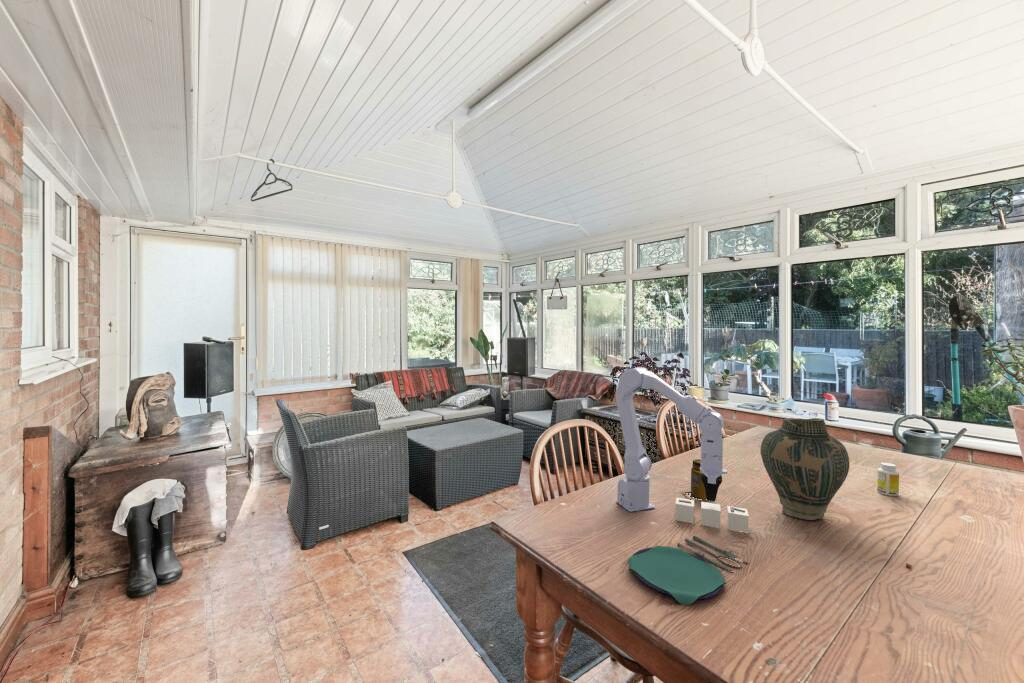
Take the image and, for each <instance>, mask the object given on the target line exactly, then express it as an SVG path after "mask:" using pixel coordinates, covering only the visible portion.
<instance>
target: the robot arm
mask: <svg viewBox="0 0 1024 683" xmlns="http://www.w3.org/2000/svg"><path fill="white" fill-rule="evenodd" d="M618 378H619V380H618V383H617V387H616V390H615V393H614V395H615V396H614V397H615V402H616V405H617V411H618V416H619V421H620V426H621V430H622V435H623V440H624V446H625V451H624V456H623V457H624V465H623V471H624V475H625V477H623V478H621V479H619V480H618V483H617V500H616V501H615V502H616V503H617V502H618V503H619V504H618V503H617V504H618V505H620V506H621V505H622V506H623V508H624V509H625V510H626V511H628V512H629V513H631V512H638V511H644V510H645V511H646V510H650V509H655V508H656V506H655V505H653V504H652V503H650V475H649V471H650V470H651V469H652V460H651V458H650V457H649V455H648V454H647V450H646V448H645V447H644V446H643V442H642V438H641V432H640V429H639V428H640V426H639V422H638V419H637V413H636V409H635V403H634V396H635V395H636V394H637V392H638V391H639V390H640V389H644V390H654V391H655V392H656V393H659V395H661V396H663V397H665V398H666V399H667V400H669V401H671V402H672V403H674V404H675V405H676V408H677V411H678V412H679V413H681V414H682V415H684V416H685V417H687V418H688V419H689V420H691V421H692V422H693V423H695V424H697V425H699V429H700V430H701V437H700V460H701V467H700V471H701V472H702V473H701V480H702V482H703V484H704V487H705V493H706V498H707V500H706V501H709V502H713V503H714V502H716V500H717V499H716V498H717V495H718V490H719V488H720V486H721V484H722V483H723V476H722V475H727V474H728V471H727V469H724V468H723V464H724V463H723V459H724V456H723V455H724V454H723V453H724V449H723V448H724V444H723V443H724V439H723V436H724V435H723V430H722V429H723V428H724V426H725V419H724V417H723V415H722V414H721V413H719V411H717V410H713V408H712V407H710V406H709V407H708V406H706V405H705V404H703V403H702V402H701V401H699V400H698V397H697V396H695V395H693V396H692V395H690V394H687V395H683V394H682V393H680V392H679V391H677V390H676V389H675V388H674V387H672V386H671V385H669V384H668V383H667V382H666V381H665V380H663V379H661V378H660V377H659V376H657V375H656V374H655V373H653V371H649V370H648V369H647V368H646V367H643V366H637V367H634V368H628V369H626V370H624V372H623V373H622V374H621V375H620V376H619V377H618ZM622 506H621V507H622Z"/></svg>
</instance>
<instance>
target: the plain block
mask: <svg viewBox="0 0 1024 683" xmlns="http://www.w3.org/2000/svg"><path fill="white" fill-rule="evenodd" d="M700 508H701V509H700V526H704V525H705V527H710V526H711V527H710V528H715V527H717V528H716V529H721V518H722V517H721V514H722V513H721V512H722V511H721V510H722V509H721V504H717V503H714V502H712V503H711V502H706V501H700Z"/></svg>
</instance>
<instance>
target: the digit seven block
mask: <svg viewBox="0 0 1024 683" xmlns="http://www.w3.org/2000/svg"><path fill="white" fill-rule="evenodd" d="M726 507H727V510H726V511H727V512H726V523H727V524H726V525H728V526H727V530H728V529H730V530H729V531H731V530H736V531H743V532H748V533H749V529H750V528H749V527H750V526H749V525H750V523H749V522H750V520H749V519H750V515H749V511H748V508H742V507H736V506H730V505H726ZM736 531H735V532H736Z"/></svg>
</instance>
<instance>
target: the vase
mask: <svg viewBox="0 0 1024 683" xmlns="http://www.w3.org/2000/svg"><path fill="white" fill-rule="evenodd" d="M760 455H761V459H762V464H763V466H764V469H765V471H766V473H767V476H768V477H769V479H770V481H771V483H772V485H773V486H774V489H775V490H776V493H777V495H778V498H779V504H780V505H782V507H781V509H782V510H781V512H782V513H783V514H784V515H787V516H789V517H793V518H797V519H800V520H801V519H802V520H807V521H814V520H815V521H816V520H818V519H823V518H824V517H825V513H827V509H828V507H829V504H830V503H831V501H832V500H833V498H834V497H835V496H836V494H837V493H838V491H839V490H840V488H841V487H842V485H843V484H844V483H845V481H846V479H847V477H848V475H849V471H850V457H849V453H848V451H847V448H846V446H845V445H844V444H843V443H842V442H841V441H840V440H838V439H837V438H834V437H832V436H831V435H830V434H829V432H828V430H827V425H826V422H825V420H824V418H817V417H814V418H793V417H789V418H783V419H782V424H781V426H780V428H778V429H776V430H774V431H773V430H772V431H770V432H768V433H767V434H765V435H764V437H763V439H762V441H761V445H760Z"/></svg>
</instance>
